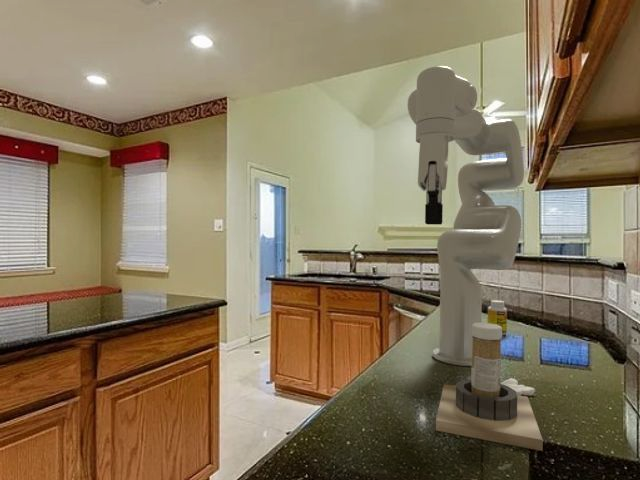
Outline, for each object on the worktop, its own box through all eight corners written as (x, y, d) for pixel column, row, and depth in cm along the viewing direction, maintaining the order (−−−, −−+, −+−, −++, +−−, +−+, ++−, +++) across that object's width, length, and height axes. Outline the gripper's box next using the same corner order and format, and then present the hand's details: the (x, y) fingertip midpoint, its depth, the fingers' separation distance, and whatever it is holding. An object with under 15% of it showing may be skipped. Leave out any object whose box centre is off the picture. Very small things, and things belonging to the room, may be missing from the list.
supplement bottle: (496, 336, 118) (497, 302, 118) (483, 331, 124) (483, 300, 124) (510, 334, 120) (511, 302, 120) (497, 330, 125) (497, 299, 126)
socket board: (443, 392, 73) (444, 368, 73) (527, 405, 67) (527, 379, 67) (435, 430, 58) (436, 400, 58) (542, 451, 52) (543, 417, 53)
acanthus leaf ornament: (513, 385, 79) (513, 375, 79) (540, 398, 72) (540, 388, 72) (481, 387, 77) (481, 377, 77) (505, 401, 70) (506, 391, 70)
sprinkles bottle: (476, 399, 66) (478, 320, 66) (504, 407, 63) (506, 325, 63) (465, 407, 63) (467, 324, 63) (494, 416, 59) (496, 329, 59)
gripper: (420, 143, 86) (419, 225, 86) (410, 124, 72) (409, 222, 72) (456, 140, 83) (454, 225, 83) (453, 120, 69) (451, 222, 69)
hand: (433, 224), depth 77 cm, fingers closed
